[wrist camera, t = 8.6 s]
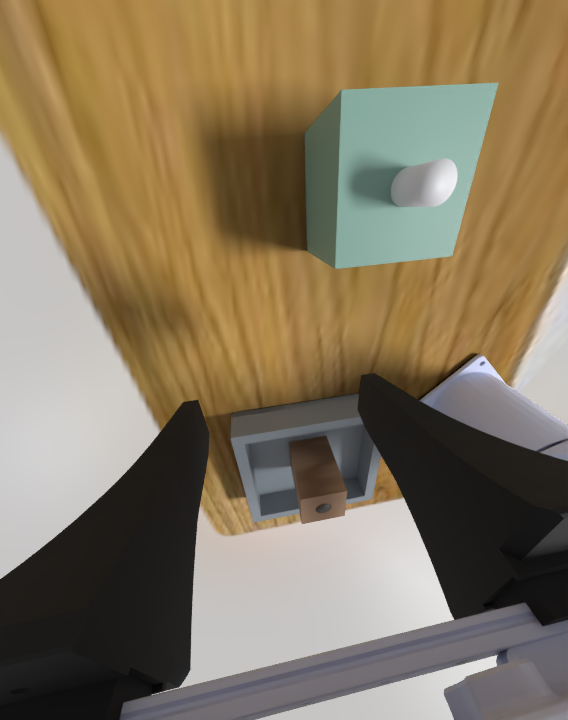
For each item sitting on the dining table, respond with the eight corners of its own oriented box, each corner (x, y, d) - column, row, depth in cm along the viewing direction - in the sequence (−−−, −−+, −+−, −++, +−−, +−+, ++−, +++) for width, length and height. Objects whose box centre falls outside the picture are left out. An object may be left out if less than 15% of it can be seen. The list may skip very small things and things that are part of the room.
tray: (374, 390, 24) (390, 411, 22) (361, 476, 32) (371, 499, 29) (231, 413, 23) (230, 438, 21) (252, 496, 31) (253, 522, 28)
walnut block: (326, 435, 26) (347, 491, 21) (325, 459, 28) (344, 516, 23) (288, 442, 26) (300, 500, 20) (290, 466, 28) (302, 524, 22)
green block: (406, 127, 14) (557, 54, 7) (390, 242, 17) (485, 263, 11) (304, 133, 14) (366, 60, 7) (306, 250, 17) (350, 279, 10)
